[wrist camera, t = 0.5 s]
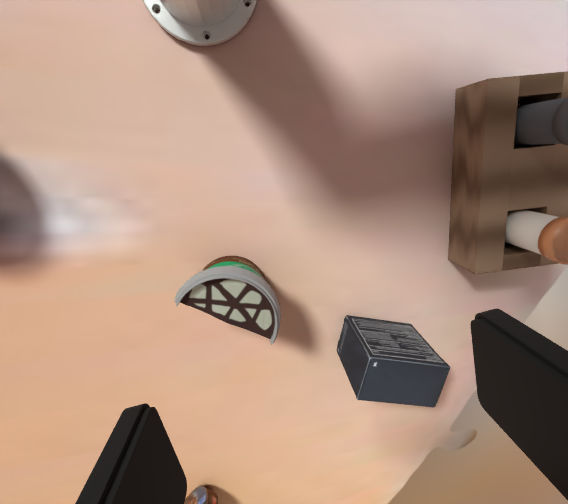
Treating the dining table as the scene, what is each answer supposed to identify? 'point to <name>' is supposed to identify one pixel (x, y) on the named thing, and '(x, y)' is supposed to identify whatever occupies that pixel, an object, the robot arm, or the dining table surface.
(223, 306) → the food container
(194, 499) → the tin
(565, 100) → the black plug
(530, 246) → the orange-brown and white plug
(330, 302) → the dining table surface
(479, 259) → the block
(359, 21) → the dining table surface
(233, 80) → the dining table surface
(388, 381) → the small box
